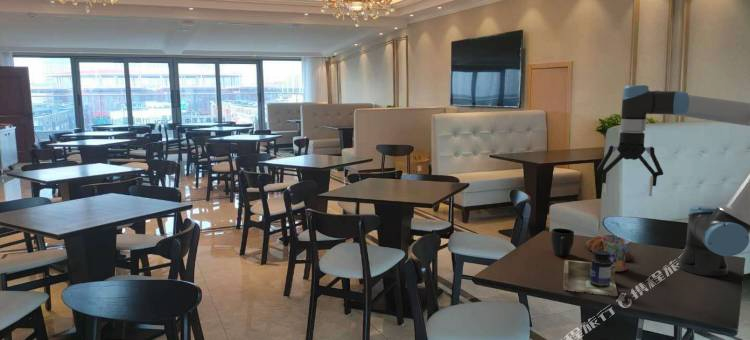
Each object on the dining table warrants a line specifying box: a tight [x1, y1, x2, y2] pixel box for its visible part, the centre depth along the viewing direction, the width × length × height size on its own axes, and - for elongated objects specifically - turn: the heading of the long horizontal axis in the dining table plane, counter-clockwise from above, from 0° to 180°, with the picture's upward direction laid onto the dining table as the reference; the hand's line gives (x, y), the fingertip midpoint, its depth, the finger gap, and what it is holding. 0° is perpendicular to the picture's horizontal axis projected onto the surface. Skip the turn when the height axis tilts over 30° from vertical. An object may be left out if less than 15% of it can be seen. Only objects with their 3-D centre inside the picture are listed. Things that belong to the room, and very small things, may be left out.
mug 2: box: [602, 236, 631, 273], centre depth 193 cm, size 12×9×11 cm
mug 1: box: [550, 227, 575, 258], centre depth 206 cm, size 8×12×10 cm
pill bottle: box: [590, 250, 612, 287], centre depth 174 cm, size 6×6×11 cm
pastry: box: [584, 234, 631, 263], centre depth 210 cm, size 17×15×8 cm
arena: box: [562, 259, 619, 297], centre depth 176 cm, size 16×14×6 cm
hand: (627, 194), depth 182 cm, fingers open, 13 cm apart
